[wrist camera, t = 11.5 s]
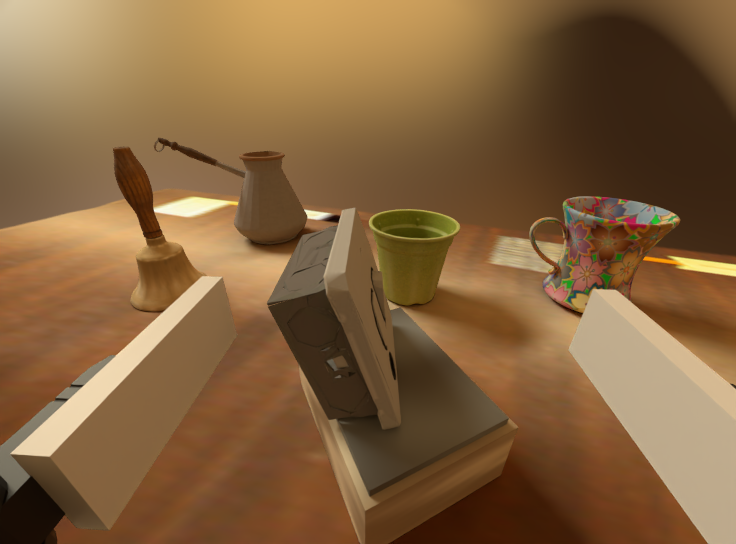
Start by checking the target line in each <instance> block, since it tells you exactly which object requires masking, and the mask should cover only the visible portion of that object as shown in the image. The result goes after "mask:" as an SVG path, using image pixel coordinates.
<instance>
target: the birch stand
mask: <svg viewBox="0 0 736 544" xmlns="http://www.w3.org/2000/svg"><path fill="white" fill-rule="evenodd" d="M390 313H391V317H392V326H393V337H394V348H395V359H396V370H397V381H398V392H399V403H400V414H401V424H400V426H399V427H395V428H390V429H386V430H384V429H382V426H381V423H380V420H379V417H378V415H368V416H364V417H345V418H339V419H333V420H328V418H327V416H326V414H325V412H324V410H323V408H322V407H321V405H320V403H319V401H318V399H317V397H316V395H315V394H314V392H313V390H312V388H311V386H310V384H309V382H308V381H307V379H306V377H305V375H304V373H303V371H302V369H301V367H300V366H299V371H300V378H301V384H302V387H303V390H304V392H305V395H306V398H307V401H308V403H309V406H310V409H311V411H312V414H313V417H314V420H315V422H316V425H317V428H318V430H319V433H320V436H321V439H322V441H323V444H324V447H325V450H326V452H327V455H328V458H329V460H330V463H331V466H332V469H333V471H334V474H335V477H336V480H337V482H338V485H339V488H340V490H341V493H342V496H343V499H344V501H345V504H346V507H347V509H348V512H349V515H350V518H351V520H352V523H353V526H354V529H355V531H356V534H357V537H358V539H359V542H360V544H389V543H390V542H392V541H394V540H395V539H397V538H399V537H400V536H402V535H404V534H405V533H407V532H408V531H410V530H412V529H413V528H415V527H417V526H418V525H420V524H422V523H423V522H425V521H426V520H428V519H430V518H431V517H433V516H435V515H436V514H438V513H440V512H441V511H443V510H445V509H446V508H448V507H449V506H451V505H453V504H454V503H456V502H458V501H459V500H461V499H463V498H464V497H466V496H467V495H469V494H471V493H472V492H474V491H476V490H477V489H479V488H481V487H482V486H484V485H486V484H487V483H489V482H490V481H492V480H494V479H495V478H497V477H499V476H500V475H501V473H502V470H503V468H504V465H505V462H506V460H507V457H508V454H509V451H510V449H511V446H512V443H513V440H514V438H515V435H516V432H517V429H518V426H517V425H516V424H515V423H514V422H513V421H512V420H511V419H510V418H509V417H508V416H507V415H506V414H505V413H504V412H503V411H502V410H501V409H500V408H499V407H498V406H497V405H496V404H495V403H494V402H493V401H492V400H491V399H490V398H489V397H488V396H487V395H486V394H485V393H484V392H483V391H482V390H481V389H480V388H479V387H478V386H477V385H476V384H475V383H474V382H473V381H472V380H471V379H470V378H469V377H468V376H467V375H466V374H465V373H464V372H463V371H462V370H461V369H460V368H459V366H458V365H457V364H456V363H455V362H454V361H453V360H452V359H451V358H450V357H449V356H448V355H447V354H446V353H445V352H444V351H443V350H442V349H441V348H440V347H439V346H438V345H437V344H436V343H435V342H434V341H433V340H432V339H431V338H430V337H429V336H428V335H427V334H426V333H425V332H424V331H423V330H422V329H421V328H420V327H419V326H418V325H417V324H416V323H415V322H414V321H413V320H412V319H411V318H410V317H409V316H408V315H407V314H406V313H405V312H404V311H403V310H402V309H401V308H397V309H393V310H390ZM327 362H328V363H329V364H330V366H331V367H332V368H333V366H336V365H335V363H334V361H333V359H331V360H328V361H327ZM334 378H335V377H334Z"/></svg>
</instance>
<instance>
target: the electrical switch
mask: <svg viewBox="0 0 736 544" xmlns="http://www.w3.org/2000/svg"><path fill="white" fill-rule="evenodd" d="M303 244H304V245H303ZM283 288H284V289H283ZM287 300H288V301H287ZM283 301H285V302H283ZM280 302H281V303H280ZM276 303H278V304H276ZM267 304H268V308H269V310H270V312H271V313H272V315H273V317H274V319H275V321H276V323H277V325H278V326H279V328H280V330H281V332H282V334H283V336H284V338H285V339H286V341H287V343H288V345H289V347H290V349H291V351H292V353H293V354H294V356H295V358H296V360H297V362H298V364H299V366H300V367H301V369H302V371H303V373H304V375H305V377H306V379H307V381H308V382H309V384H310V386H311V388H312V390H313V392H314V394H315V395H316V397H317V399H318V401H319V403H320V405H321V407H322V408H323V410H324V412H325V414H326V416H327V418H328V420H333V419H339V418H345V417H364V416H368V415H378V417H379V420H380V423H381V426H382V429H384V430H386V429H390V428H395V427H399V426H400V424H401V414H400V403H399V392H398V381H397V370H396V359H395V348H394V337H393V326H392V317H391V313H390V309H389V306H388V302H387V299H386V295H385V292H384V289H383V277H382V272H380V271H378V270H377V266H376V263H375V260H374V257H373V253H372V250H371V247H370V244H369V242H368V239H367V236H366V233H365V230H364V228H363V225H362V222H361V219H360V217H359V214H358V212H357V210H356V208H351V209H346V210H342V214H341V217H340V221H339V224H338V225H337V226H332V227H328V228H326V229H324V230H322V231H319V232H314V233H310V234H305V235H302V237H301V239H300V241H299V243H298V245H297V247H296V249H295V251H294V252H293V254H292V256H291V258H290V260H289V262H288V264H287V266H286V268H285V270H284V272H283V274H282V275H281V277H280V279H279V281H278V283H277V285H276V287H275V289H274V291H273V293H272V295H271V297H270V299H269V300H268V302H267ZM272 304H275V305H272ZM269 305H272V306H269ZM290 319H291V320H290ZM289 321H290V322H289ZM288 323H289V324H288ZM331 359H333V361H334V363H335V365H336V366H333V368H332V367H331V366H330V364H329V363H328V362H327V361H328V360H331ZM334 377H335V378H334Z"/></svg>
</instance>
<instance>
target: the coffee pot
mask: <svg viewBox="0 0 736 544" xmlns="http://www.w3.org/2000/svg"><path fill="white" fill-rule="evenodd" d="M158 142H160V143H161V144H163V147H162V149H161V150H159V152H160V151H162V150H163V149H164V146H169V147H171V149H172V150H178V151H180V152H182V153H184V154H186V155H187V156H189V157H191V158H194V159H197V160H200V161H203V162H205V163H208V164H211V165H214V166H218V167H220V168H222V169H225V170H227V171H229V172H232V173H234V174H236V175H238V176H241V177H243V178H244V182H243V187H242V191H241V195H240V199H239V203H238V207H237V211H236V215H235V220H234V225H235V227H236V228H237V230H238V231H239V232H240V233H241V234H242V235H244V236H245V237H247V238H249V239H250V240H251V241H253V242H255V243H259V244H277V243H282V242H286V241H289V240H291V239H293V238H295V237H296V236H297V233H299V232H300V231H301V230H302V229H303V228H304V226H305V224H306V221H307V215H306V213H305V211H304V209H303V207H302V205H301V204H300V202H299V200H298V198H297V196H296V194H295V192H294V191H293V189H292V187H291V185H290V183H289V181H288V180H287V178H286V176H285V174H284V173H283V170H282V169H281V165H282V158H283V157H284V156H285V155H284V154H283V153H281V152H272V151H264V152H252V153H244V154H241V155H240V156H239V158H240V159H242V160H243V162H244V164H245V167H246V169H247V170H246V172H245V171H242V170H239V169H237V168H234V167H232V166H229V165H226V164H224V163H221V162H219V161H217V160H215V159H213V158H211V157H209V156H206V155H204V154H202V153H200V152H198V151H196V150H194V149H191V148H187V147H184V146H180V145H178V144H177V143H176V142H169V141H168V140H166V139H163V138H158V140H157V141H156V142H155V145H154V148H155V150H156V144H157V143H158ZM156 151H157V150H156ZM157 152H158V151H157Z"/></svg>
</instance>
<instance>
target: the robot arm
mask: <svg viewBox="0 0 736 544" xmlns="http://www.w3.org/2000/svg"><path fill="white" fill-rule="evenodd" d="M236 337H237V332H236V329H235V325H234V321H233V317H232V313H231V309H230V305H229V301H228V297H227V293H226V289H225V285H224V281H223V277H212V276H202V277H201V278H200V279H199V280H198V281H196V282H195V283H194V284H193V285H192V286H191V287H190V288H189V289H188V290H187V291H186V292H185V293H183V294H182V295H181V296H180V297H179V298H178V299H177V300H176V301H175V302H174V303H173V304H172V305H171V306H169V307H168V308H167V309H166V310H165V311H164V312H163V313H162V314H161V315H160V316H159V317H158V318H156V319H155V320H154V321H153V322H152V323H151V324H150V325H149V326H148V327H147V328H146V329H145V330H143V331H142V332H141V333H140V334H139V335H138V336H137V337H136V338H135V339H134V340H133V341H132V342H130V343H129V344H128V345H127V346H126V347H125V348H124V349H123V350H122V351H121V352H120V353H119V354H117V355H116V356H115V355H111V356H109V357H107V358H105V359H104V360H102V361H100V362H99V363H97V364H95V365H94V366H92V367H90V368H89V369H88V370H86V371H85V372H84V373H83V374H82V375H81V376H80V377H78V378H77V379H76V380H75V381H74V382H73V383H72V384H71V386H70V388H66V389H65V390H64V391H63V392H61V393H60V394H59V395H58V396H57V397H56V399H55V401H54V402H53V401H51V402H50V403H49V404H48V405H47V406H46V407H44V408H43V409H42V410H41V411H40V412H39V413H38V414H37V415H35V416H34V417H33V418H32V419H31V420H30V421H29V422H27V423H26V424H25V425H24V426H23V427H22V428H21V429H20V430H18V431H17V432H16V433H15V434H14V435H13V436H12V437H10V438H9V439H8V440H7V441H6V442H5V443H4V444H3V445H1V446H0V544H57V537H56V531H55V530H54V527H55V526H56V525H57V524H58V522H59V521H60V520H61V519H62V517H63V516H64V515H66V517H67V518H68V519H69V520H70V521H71V522H72V523H73V524H74V525H75V526H76V528H84V529H96V530H110V529H111V527H112V526H113V524H114V523H115V521H116V520H117V518H118V517H119V515H120V514H121V512H122V511H123V509H124V508H125V506H126V505H127V503H128V501H129V500H130V498H131V497H132V495H133V494H134V492H135V491H136V489H137V488H138V486H139V485H140V483H141V482H142V480H143V479H144V477H145V476H146V474H147V473H148V471H149V469H150V468H151V466H152V465H153V463H154V462H155V460H156V459H157V457H158V456H159V454H160V453H161V451H162V450H163V448H164V447H165V445H166V444H167V442H168V440H169V439H170V437H171V436H172V434H173V433H174V431H175V430H176V428H177V427H178V425H179V424H180V422H181V421H182V419H183V418H184V416H185V415H186V413H187V412H188V410H189V408H190V407H191V405H192V404H193V402H194V401H195V399H196V398H197V396H198V395H199V393H200V392H201V390H202V389H203V387H204V386H205V384H206V383H207V381H208V379H209V378H210V376H211V375H212V373H213V372H214V370H215V369H216V367H217V366H218V364H219V363H220V361H221V360H222V358H223V357H224V355H225V354H226V352H227V350H228V349H229V347H230V346H231V344H232V343H233V341H234V340H235V338H236ZM569 351H570V353H571V354H572V356H573V357H574V358H575V360H576V361H577V363H578V364H579V365H580V367H581V368H582V369H583V371H584V372H585V374H586V375H587V376H588V378H589V379H590V381H591V382H592V383H593V385H594V386H595V387H596V389H597V390H598V392H599V393H600V394H601V396H602V397H603V399H604V400H605V401H606V403H607V404H608V405H609V407H610V408H611V410H612V411H613V412H614V414H615V415H616V417H617V418H618V419H619V421H620V422H621V424H622V425H623V426H624V428H625V429H626V430H627V432H628V433H629V435H630V436H631V437H632V439H633V440H634V442H635V443H636V444H637V446H638V447H639V448H640V450H641V451H642V453H643V454H644V455H645V457H646V458H647V460H648V461H649V462H650V464H651V465H652V467H653V468H654V469H655V471H656V472H657V473H658V475H659V476H660V478H661V479H662V480H663V482H664V483H665V485H666V486H667V487H668V489H669V490H670V491H671V493H672V494H673V496H674V497H675V498H676V500H677V501H678V503H679V504H680V505H681V507H682V508H683V510H684V511H685V512H686V514H687V515H688V516H689V518H690V519H691V521H692V522H693V523H694V525H695V526H696V528H697V529H698V530H699V532H700V533H701V534H702V536H703V537H704V539H705V540H706V541H707V543H708V544H736V386H735V385H733V384H729V383H728V382H727V381H726V380H724V379H723V378H722V377H721V376H720V375H718V374H717V373H716V372H715V371H714V370H712V369H711V368H710V367H709V366H707V365H706V364H705V363H704V362H703V361H701V360H700V359H699V358H698V357H697V356H695V355H694V354H693V353H692V352H691V351H689V350H688V349H687V348H686V347H685V346H683V345H682V344H681V343H680V342H678V341H677V340H676V339H675V338H674V337H672V336H671V335H670V334H669V333H668V332H666V331H665V330H664V329H663V328H662V327H660V326H659V325H658V324H657V323H656V322H654V321H653V320H652V319H651V318H650V317H648V316H647V315H646V314H645V313H643V312H642V311H641V310H640V309H639V308H637V307H636V306H635V305H634V304H633V303H631V302H630V301H629V300H628V299H627V298H625V297H624V296H623V295H622V294H621V293H619V292H618V291H617V290H604V289H593V291H592V293H591V296H590V298H589V300H588V303H587V305H586V308H585V310H584V313H583V315H582V318H581V320H580V323H579V325H578V328H577V330H576V333H575V335H574V337H573V340H572V342H571V345H570V347H569Z"/></svg>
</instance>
